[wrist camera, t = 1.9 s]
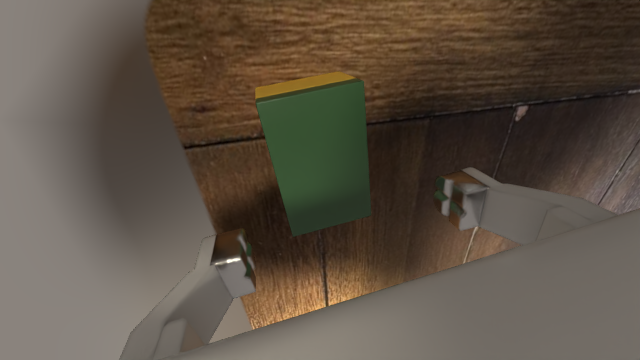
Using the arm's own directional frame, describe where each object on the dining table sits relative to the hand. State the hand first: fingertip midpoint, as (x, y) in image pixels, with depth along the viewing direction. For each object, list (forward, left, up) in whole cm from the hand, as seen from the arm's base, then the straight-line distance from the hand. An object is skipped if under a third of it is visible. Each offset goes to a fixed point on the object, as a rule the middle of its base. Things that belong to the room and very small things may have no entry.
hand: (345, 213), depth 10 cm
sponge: (0, 0, -8) cm, 8 cm away
